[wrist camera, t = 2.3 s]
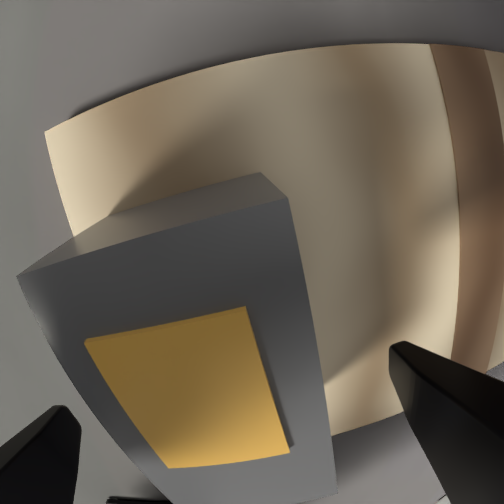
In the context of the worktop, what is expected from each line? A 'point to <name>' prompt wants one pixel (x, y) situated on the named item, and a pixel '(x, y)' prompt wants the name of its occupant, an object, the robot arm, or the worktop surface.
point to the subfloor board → (334, 190)
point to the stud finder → (196, 343)
